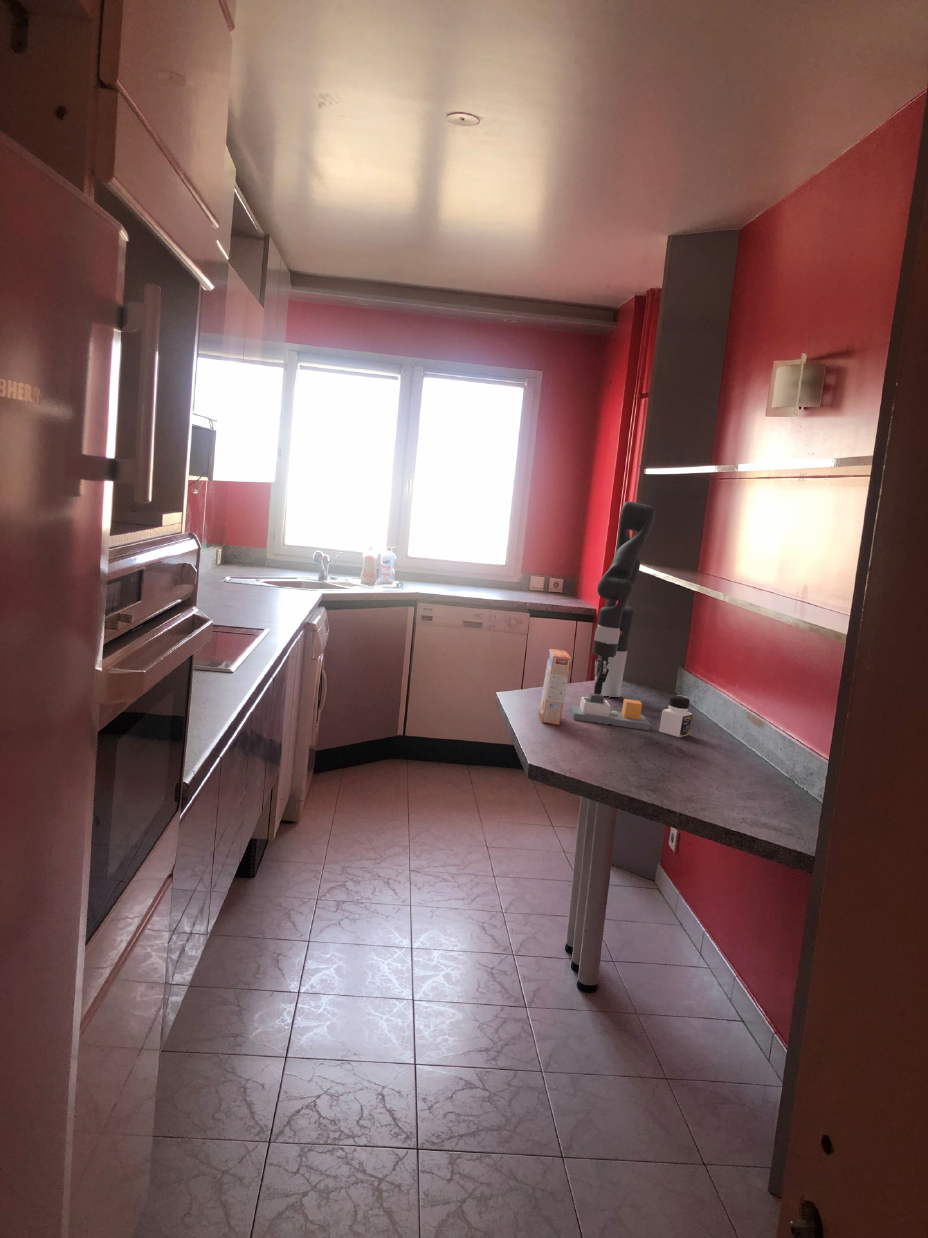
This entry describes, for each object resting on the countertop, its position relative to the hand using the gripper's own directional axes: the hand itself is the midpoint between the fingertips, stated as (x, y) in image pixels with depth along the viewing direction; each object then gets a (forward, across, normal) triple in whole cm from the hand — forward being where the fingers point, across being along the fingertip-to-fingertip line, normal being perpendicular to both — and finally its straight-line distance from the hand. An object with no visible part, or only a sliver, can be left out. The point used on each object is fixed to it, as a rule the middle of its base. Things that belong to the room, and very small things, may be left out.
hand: (597, 693), depth 286 cm
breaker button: (+3, 0, 0) cm, 3 cm away
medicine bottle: (+8, +5, +25) cm, 27 cm away
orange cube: (+6, -1, +12) cm, 14 cm away
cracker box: (+8, +10, -15) cm, 20 cm away
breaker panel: (+8, 0, +5) cm, 10 cm away
